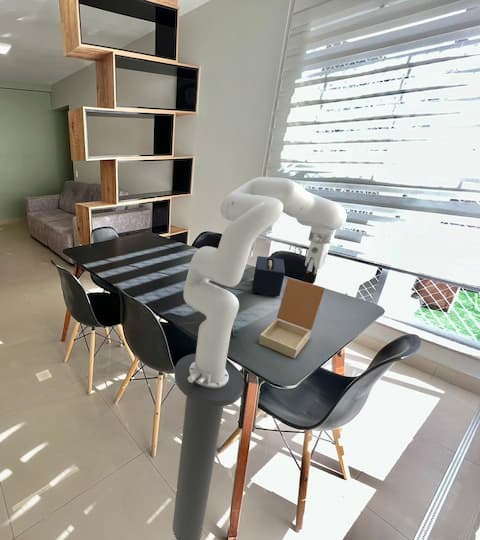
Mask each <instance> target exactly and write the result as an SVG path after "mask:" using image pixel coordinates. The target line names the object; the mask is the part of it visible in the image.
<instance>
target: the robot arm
mask: <svg viewBox="0 0 480 540" xmlns="http://www.w3.org/2000/svg"><path fill="white" fill-rule="evenodd" d="M220 212H221V213H220V214H221V215H222V218H224V219H226V220H227V221H230V222H231V223H230V224H229V225H228V226H227V227H226V228H225V230H224V231H223V232H222V235H221V237H220V241H219V243H218V247H214V246H208V245H205V246H202V247H200V248H198V249H197V250H196V251H195V253H194V254H193V255H192V257H191V260H190V263H189V267H188V270H187V271H188V272H187V275H186V279H185V283H184V287H183V292H182V293H183V300H184V302H185V303H186V304H187V305H188V306H190V307H191V308H193V309H195V310H196V311H197V312H200V313H201V314H203V315H204V316H205V317H206V318H205V319H204V320H203V321H202V322H201V323H199V326H198V332H197V341H196V350H195V354H196V358H195V362H193V363H192V364H191V366H190V368H189V374H190V376H189V377H188V381H189V382H190V383H192V382H193V381H195V382H196V383H198V384H199V385H201V386H204V387H207V388H220V387H223V386H225V385H226V384H227V382H228V379H229V375H228V372H227V370H226V369H225V365H226V360H227V358H228V352H229V348H230V347H229V346H230V340H231V336H230V335H231V329H232V326H234V322H235V319H236V317H237V314H238V313H239V310H240V309H239V308H240V302H239V299H238V298H237V296H236V295H235V294H233V293H232V292H231V291H229V290H227V289H225V288H223V287H220V286H219V285H216V284H214V283H212V282H215V283H217V284H220V285H222V286H225V287H228V288H229V287H231V288H232V287H236V286H237V285H239V283H240V282H241V280H242V278H243V276H244V272H245V269H246V267H247V263H248V260H249V256H250V253H251V249H252V247H253V245H254V243H255V241H256V239H257V238H258V237H259V236H260V235H261V233H263V232H264V231H266V230H267V229H268V228H270V227H271V226H273V225H274V224H275V223H276V222H277V221H278V220H279V219H280V217H281V216H282V213H284V214H285V215H286V216H288V217H291V218H294V219H296V222H298V224H301V226H306V227H310V231H309V236H308V240H307V241H309V242H310V244H309V246H308V251H307V252H306V253H307V254H306V256H305V257H306V258H305V262H304V266H305V267H307V269H306V273H305V277H304V280H303V282H306V283H310V284H313V285H314V283H316V278H317V276H318V271H319V270H320V269H322V267H324V266H325V264H326V262H327V259H328V258H327V257H328V254H329V250H330V244H331V245H332V244H333V241H334V237H335V234H336V231H338V230H339V229H341V228H342V227H343V226H344V225H345V224H346V221H347V212H346V209H345V208H344V207H343V206H342V205H341V204H339V203H338V202H335V201H333V200H331V199H328V198H324V197H322V196H319V195H316V194H314V193H311V192H309V191H308V190H306V189H305V188H303V187H302V186H301V185H299V184H298V183H296V182H295V181H294V180H293V179H290V178H286V177H275V176H274V177H271V176H258V177H255V178H253V179H251V180H249V181H247V182H245V183H243V184H242V185H240V186H239V187H237V188H235V189H234V190H233V191H231V192H229V193H228V194H227V195H226V196H225V197H224V199H223V200H222V202H221V205H220ZM210 281H212V282H210Z"/></svg>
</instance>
